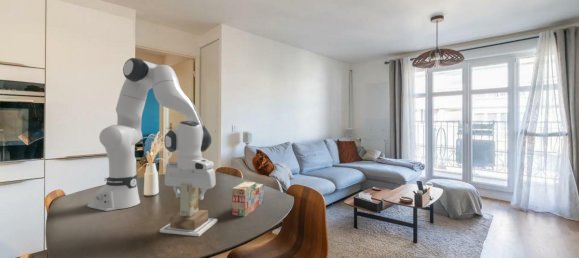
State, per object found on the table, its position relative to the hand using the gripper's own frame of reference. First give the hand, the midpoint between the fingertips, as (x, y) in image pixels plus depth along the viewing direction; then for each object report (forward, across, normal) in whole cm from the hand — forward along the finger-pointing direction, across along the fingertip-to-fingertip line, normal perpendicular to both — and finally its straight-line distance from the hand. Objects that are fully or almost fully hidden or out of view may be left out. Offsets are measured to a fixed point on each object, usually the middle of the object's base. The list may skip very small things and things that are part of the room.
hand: (189, 198), depth 100 cm
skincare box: (+6, 0, 0) cm, 6 cm away
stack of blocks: (+11, +15, +25) cm, 32 cm away
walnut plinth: (+11, 0, 0) cm, 11 cm away
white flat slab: (+11, 0, 0) cm, 11 cm away
